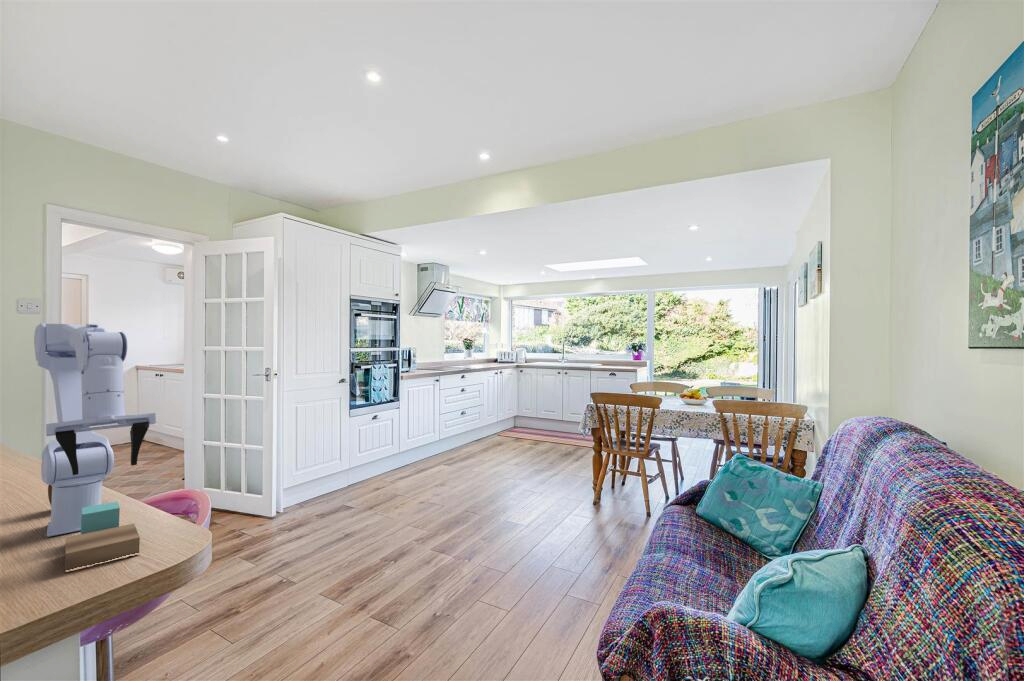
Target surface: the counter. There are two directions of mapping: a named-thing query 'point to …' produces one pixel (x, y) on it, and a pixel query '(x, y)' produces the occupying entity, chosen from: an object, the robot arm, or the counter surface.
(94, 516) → the teal block
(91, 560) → the walnut plinth
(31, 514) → the counter surface
